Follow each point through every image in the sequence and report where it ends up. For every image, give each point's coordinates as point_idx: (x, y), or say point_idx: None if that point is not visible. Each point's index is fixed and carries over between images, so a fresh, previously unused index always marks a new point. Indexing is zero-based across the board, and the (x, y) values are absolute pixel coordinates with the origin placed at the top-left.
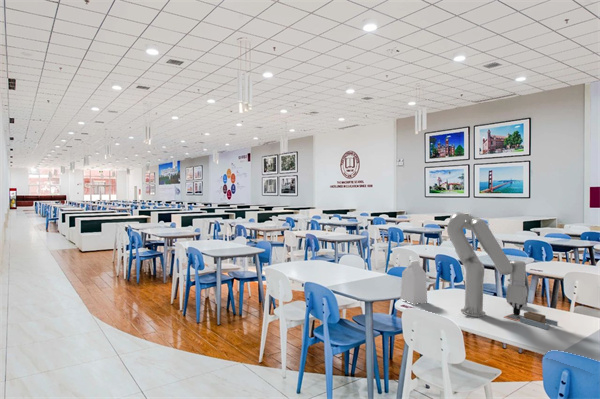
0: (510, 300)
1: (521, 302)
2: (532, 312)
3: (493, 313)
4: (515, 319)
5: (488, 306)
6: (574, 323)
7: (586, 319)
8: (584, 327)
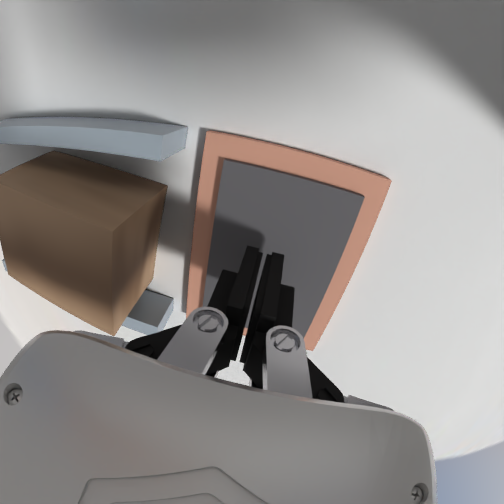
0: (342, 435)
1: (50, 365)
2: (82, 303)
3: (476, 252)
4: (245, 159)
5: (469, 378)
6: None
7: None
8: (4, 304)
